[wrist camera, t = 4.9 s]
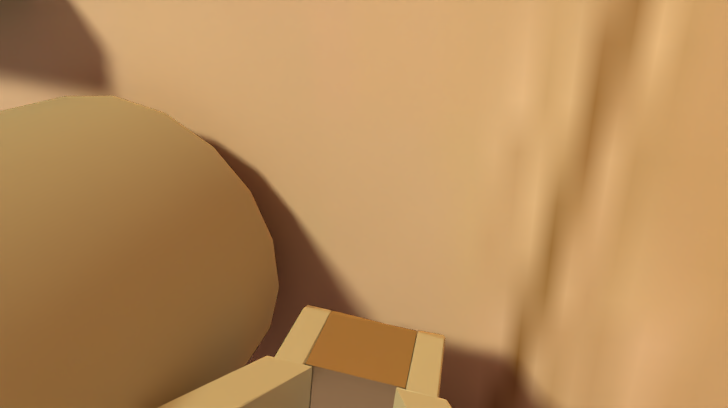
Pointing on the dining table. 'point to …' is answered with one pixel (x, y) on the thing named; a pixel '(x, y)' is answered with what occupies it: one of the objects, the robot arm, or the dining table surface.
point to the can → (123, 258)
